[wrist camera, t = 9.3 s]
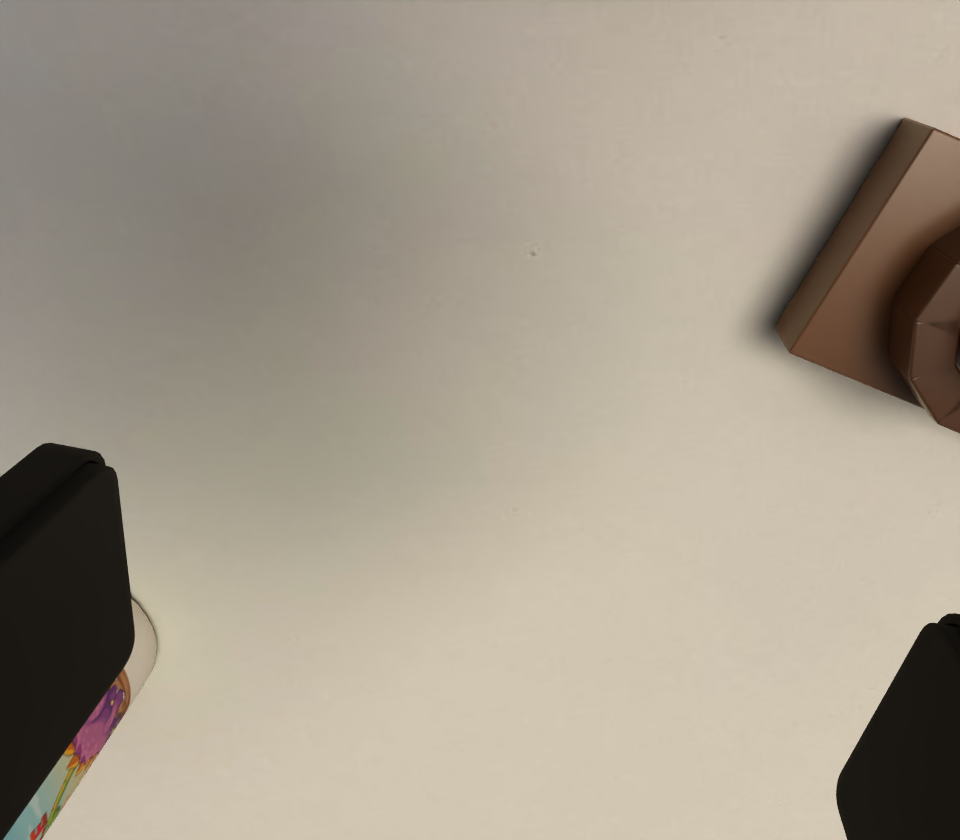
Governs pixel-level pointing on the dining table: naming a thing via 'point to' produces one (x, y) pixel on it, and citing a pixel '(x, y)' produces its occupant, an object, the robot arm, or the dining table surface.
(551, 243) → the dining table surface
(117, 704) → the milk bottle
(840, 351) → the button block
